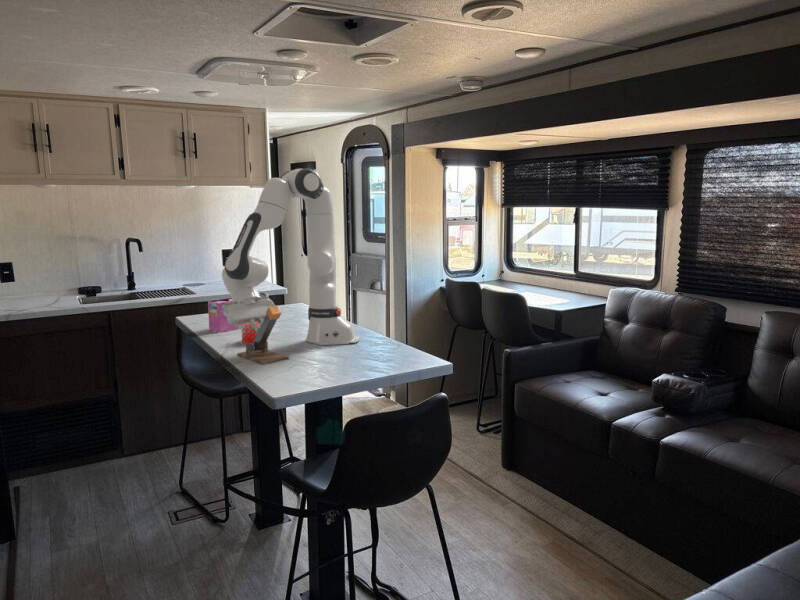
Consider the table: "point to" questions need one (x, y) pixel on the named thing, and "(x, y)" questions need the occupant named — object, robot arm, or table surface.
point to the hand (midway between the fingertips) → (260, 329)
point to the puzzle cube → (248, 333)
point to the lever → (266, 327)
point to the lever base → (261, 354)
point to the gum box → (219, 316)
